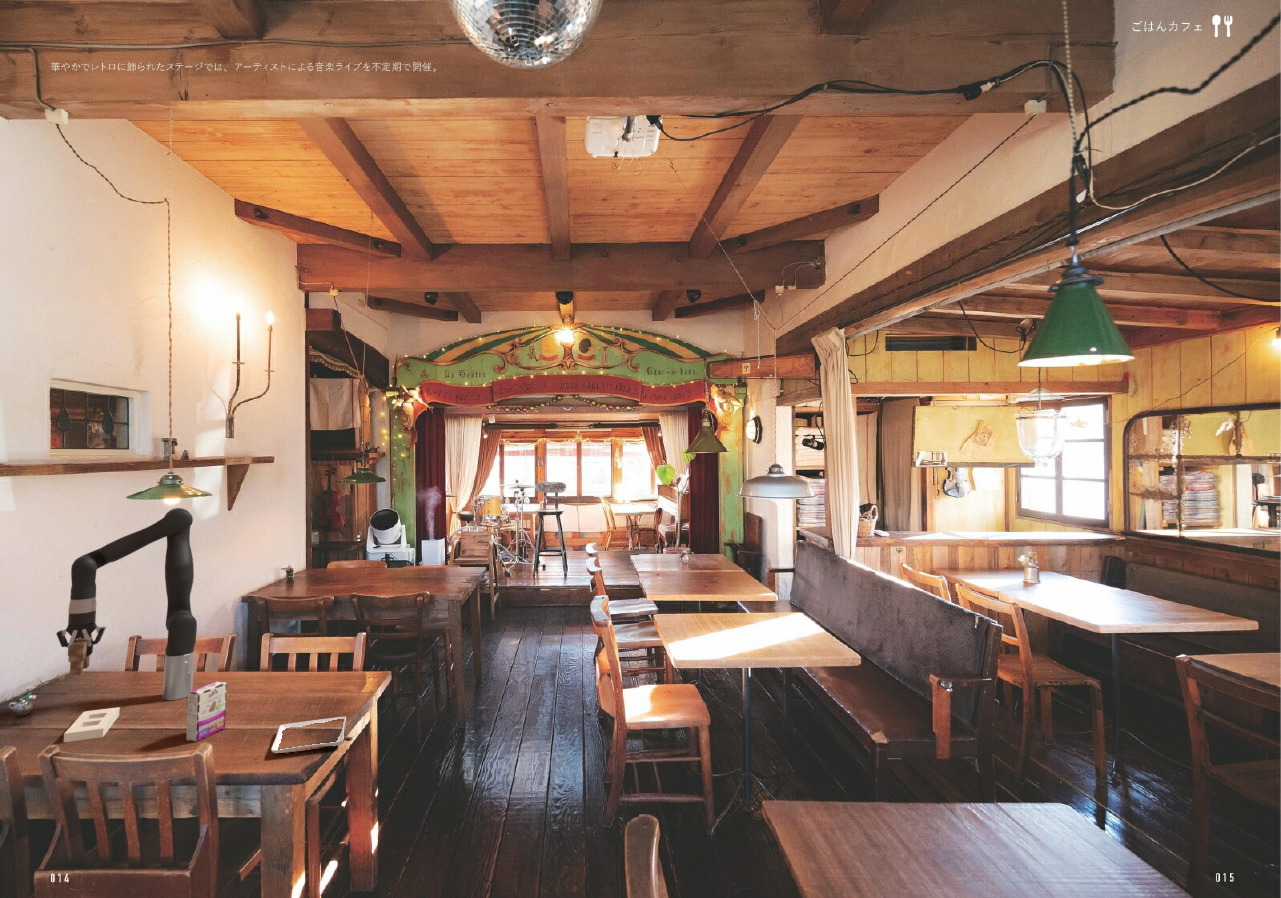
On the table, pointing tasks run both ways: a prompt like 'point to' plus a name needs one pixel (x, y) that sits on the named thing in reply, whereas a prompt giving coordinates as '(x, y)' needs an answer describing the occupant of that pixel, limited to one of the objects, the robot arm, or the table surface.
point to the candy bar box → (206, 710)
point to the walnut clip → (78, 656)
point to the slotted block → (91, 724)
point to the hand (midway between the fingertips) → (80, 656)
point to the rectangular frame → (301, 724)
